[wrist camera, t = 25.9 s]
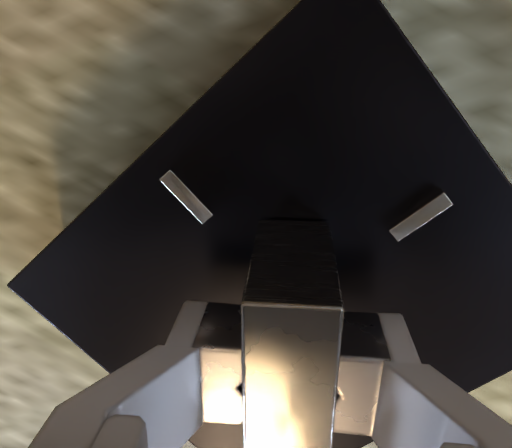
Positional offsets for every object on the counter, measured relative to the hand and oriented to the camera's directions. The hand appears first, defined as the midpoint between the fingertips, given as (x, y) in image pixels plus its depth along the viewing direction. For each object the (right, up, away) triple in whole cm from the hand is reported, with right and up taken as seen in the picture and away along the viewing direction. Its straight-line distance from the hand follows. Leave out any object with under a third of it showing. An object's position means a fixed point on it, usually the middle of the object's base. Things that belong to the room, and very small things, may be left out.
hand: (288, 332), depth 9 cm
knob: (0, 0, +1) cm, 1 cm away
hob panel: (0, +2, +4) cm, 4 cm away
